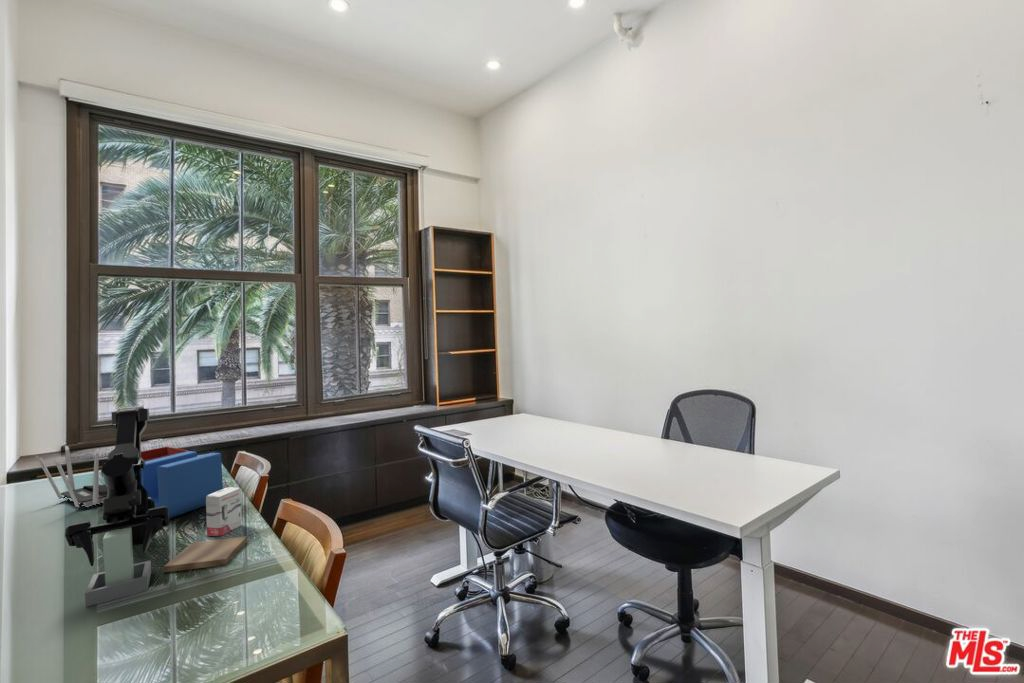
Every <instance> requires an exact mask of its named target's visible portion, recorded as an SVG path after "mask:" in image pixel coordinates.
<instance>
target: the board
mask: <svg viewBox="0 0 1024 683" xmlns="http://www.w3.org/2000/svg"><path fill="white" fill-rule="evenodd" d="M247 542H248V536H245V535H244V536H240V537H239V536H238V537H237V536H236V537H231V538H222V539H212V540H210V539H209V540H203V541H195V542H191V543H190V544H189V545H187V546H186V547H185V548H183V549H182V550H181V551H180V552H179V553H178V554H177V555H175V556H174V557H173V558H172V559H170V560H169V562H167V563H166V564H165V565H164V566H163V573H170V572H178V571H180V572H181V571H186V570H188V571H189V570H195V569H203V568H212V567H218V566H220V567H221V566H226V565H228V563H229V562H230V561H231V560H232V559H233V558H234V557H235V555H236V554H238V552H239V551H240V550H241V549H242V548H243V547H244V546H245V545H246V544H245V543H247ZM244 544H245V545H244ZM233 556H234V557H233ZM232 557H233V558H232ZM231 558H232V559H231ZM230 559H231V560H230ZM229 560H230V561H229Z"/></svg>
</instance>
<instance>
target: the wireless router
mask: <svg viewBox="0 0 1024 683" xmlns="http://www.w3.org/2000/svg"><path fill="white" fill-rule="evenodd" d="M64 451H65V459H66V460H65V461H66V468H67V469H66V470H67V474H66V473H65V471H64V468H63V467H62V465H61V463H59V462H58V461H55V460H54V463H55V466H56V467H57V470H58V472H59V474H60V477H61V479H62V480H63V483H64V485H65V487H66V489H67V491H63V492H60V490H59V488H58V487H57V485H56V482H55V481H54V479H53V477H52V474H51V473H50V472H49V469H48V467H47V466H46V464H45V462H44V461H43V458H42V457H40V456H38V455H37V454H35V457H36V459H37V461H38V463H39V465H40V466H41V468H42V470H43V471H44V473H45V475H46V478H47V479H48V482H49V483H50V485H51V487H52V488H53V491H54V492H55V494H56V496H57V498H58V500H59V499H61V498H63V499H64V498H65V497H67V498H71V499H72V500H73V502H74V503H73V502H72V503H73V504H74V506H75V508H76V507H78V508H80V507H83V506H82V505H84V506H89V505H95V506H97V505H96V504H98V503H101V502H103V500H104V499H106V498H107V495H108V488H107V486H106V484H99V483H100V482H99V479H100V478H99V477H100V476H99V474H100V473H99V472H100V471H99V468H100V466H99V464H100V463H99V461H100V460H99V457H100V456H99V453H95V454H94V462H93V485H83V487H81V488H76V487H75V486H76V485H75V480H74V474H73V473H74V472H73V466H72V460H71V452H70V447H69V446H68V445H65V446H64ZM67 498H65V499H67ZM79 503H80V504H79Z"/></svg>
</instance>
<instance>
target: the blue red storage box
mask: <svg viewBox="0 0 1024 683" xmlns="http://www.w3.org/2000/svg"><path fill="white" fill-rule="evenodd" d="M222 466H223V464H222V454H221V452H209V453H206V454H202V455H198V452H197V451H192V450H191V451H189V450H188V451H187V452H183V453H179V454H175V455H171V456H166V457H162V458H158V459H154V460H150V461H145V467H144V469H143V471H141V474H142V485H143V486H144V488H145V489H146V490H147V491H148V493H149V497H151V499H152V500H153V501H154V503H155V508H157V507H162V506H166V507H168V512H169V520H170V519H172V518H175V517H178V516H181V515H183V514H184V515H185V514H186V513H189V512H193V511H194V510H197V509H200V508H203V507H206V497H207V495H209V494H212V493H214V492H217V491H219V490H222V489H224V487H223V486H224V484H223V482H224V481H223V467H222ZM147 512H148V511H147Z"/></svg>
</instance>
